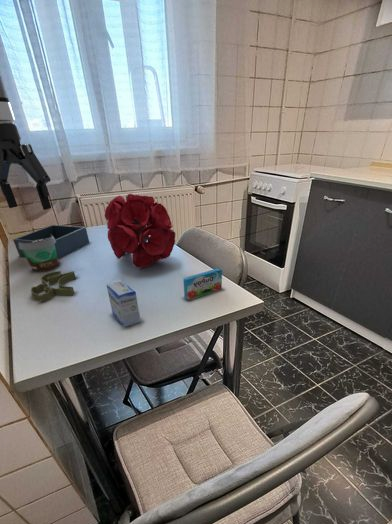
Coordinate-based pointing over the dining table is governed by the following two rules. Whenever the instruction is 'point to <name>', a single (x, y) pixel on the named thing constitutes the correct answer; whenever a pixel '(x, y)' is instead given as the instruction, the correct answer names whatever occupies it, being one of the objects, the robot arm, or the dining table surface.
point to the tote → (57, 238)
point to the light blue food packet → (202, 284)
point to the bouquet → (139, 229)
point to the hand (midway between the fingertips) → (30, 208)
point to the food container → (41, 254)
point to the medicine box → (123, 303)
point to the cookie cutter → (52, 279)
